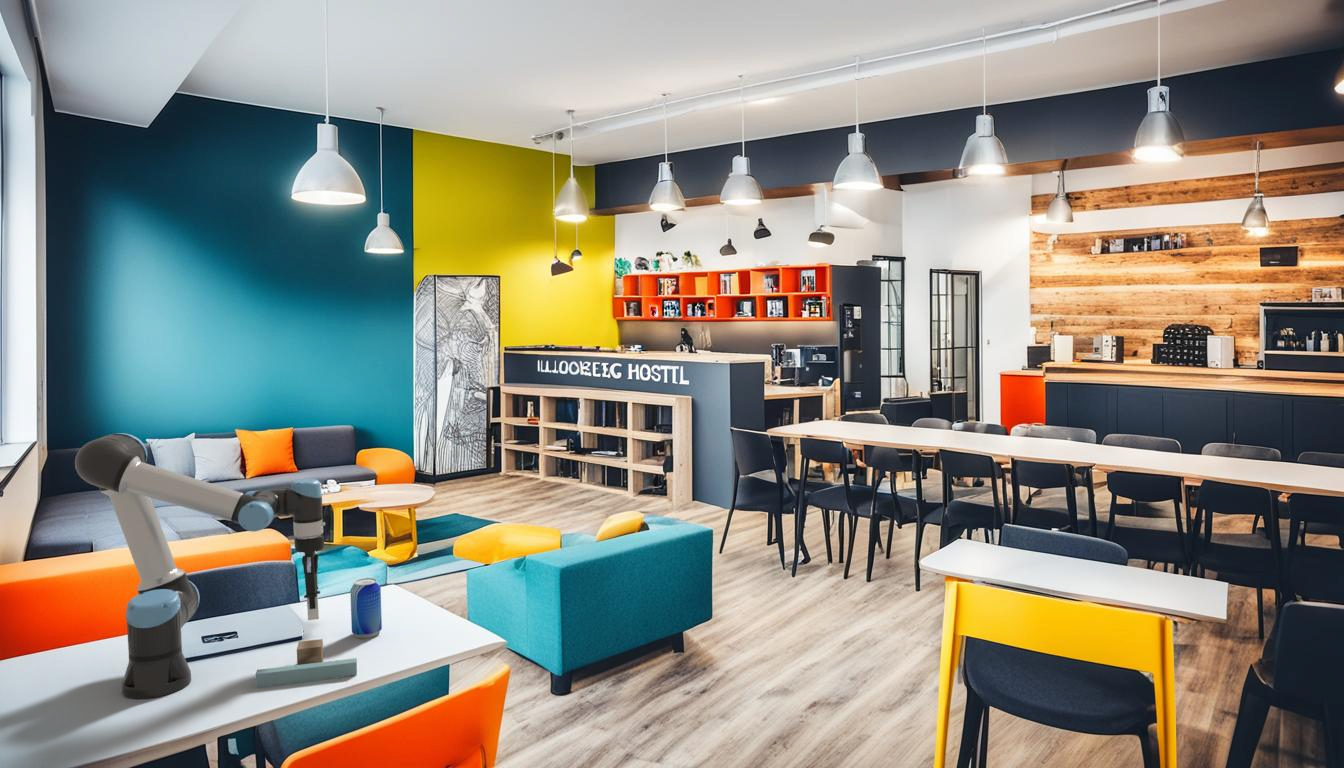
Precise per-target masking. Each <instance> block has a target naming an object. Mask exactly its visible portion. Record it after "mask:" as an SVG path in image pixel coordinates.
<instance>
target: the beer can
mask: <svg viewBox="0 0 1344 768" xmlns="http://www.w3.org/2000/svg"><path fill="white" fill-rule="evenodd" d="M381 592H382V589H381V585H380V584H379V582H378V580H377V578H374V577H363V578H359V579H356V580H354V581H353V584H352V587H351V588H350V615H351V617H350V618H351V622H350V623H351V633H352V634H353V635H354V637H355V638H357V639H370V638H374V637H376V636H378V635H379V634H380V632H381V630H382V629H383V624H382V620H383V619H382V596H381V595H382V594H381Z"/></svg>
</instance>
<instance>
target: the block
mask: <svg viewBox="0 0 1344 768" xmlns="http://www.w3.org/2000/svg"><path fill="white" fill-rule="evenodd" d="M323 642H324V641H323V638H321V639H311V640H301V641H298V642H297V643H298V644H297V646H296V665H302V664H311V663H319V662H324V645H323V644H324V643H323Z"/></svg>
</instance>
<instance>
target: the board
mask: <svg viewBox="0 0 1344 768" xmlns="http://www.w3.org/2000/svg"><path fill="white" fill-rule="evenodd" d="M357 661H358V658H357V657H355V658H353V657H352V658H345V659H338V660H328V661H323V662H319V663H311V664H302V665H297V664H296V665H286V666H279V667H277V666H276V667H269V668H268V667H267V668H261V669H260V668H259V669H256V672H255V688H265V687H273V686H274V687H275V686H280V685H289V684H297V683H305V682H313V681H321V680H322V679H323V680H328V679H327V678H331V679H336V678H335V677H339V678H344V677H343V676H347V677H352V676H351V675H355V676H357V675H358V666H357V665H358V662H357Z"/></svg>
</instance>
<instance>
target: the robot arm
mask: <svg viewBox="0 0 1344 768" xmlns="http://www.w3.org/2000/svg"><path fill="white" fill-rule="evenodd" d="M147 460H148V450H147V447H146V446H145V444H144V442H143V441H142V440H141V439H140V438H138V437H137V436H134V435H132V434H129V433H126V432H125V433H124V432H123V433H117V432H116V433H112V434H111V433H110V434H107V435H105V436H102V437H100V438H96V439H94V440H91V441H89V442H87V443H85V444H84V445H82V447H80V449H79V450H78V451H77V453H76V455H75V460H74V467H75V470H76V472H77V475H78V476H79V477H80V478H81V479H82V480H84V481H85V482H86V483H87V484H89V485H93V486H96V487H97V488H98V490H99V492H100V493H102V494H104V495H106V496H109V499H110V501H111V504H112V507H113V509H114V512H115V515H116V518H117V520H118V523H119V526H120V529H121V531H122V534H123V537H124V539H125V541H126V544H127V547H128V550H129V551H130V552H129V553H130V555H131V557H132V560H133V563H134V565H135V568H136V571H137V573H138V576H139V578H140V582H139V584H138V586H137V588H136V590H137V593H138V594H137V595H135V596H134V597H132V598H131V599H130V600H129V601H128V603H127V605H126V611H125V620H126V631H127V649H128V663H127V667H126V671H125V673H124V677H123V679H122V683H121V689H122V690H121V693H122V695H123V696H124V697H126V698H130V699H151V698H157V697H162V696H166V695H169V694H172V693H176V692H177V691H180V690H182V689H185V687H187V686H188V685H189V684H190V683H191V682H192V673H191V669H190V667H189V665H188V663H187V660H186V658H185V656H184V653H183V649H182V648H183V647H182V646H183V645H182V644H183V643H182V628H183V627H184V626H185V624H187V622H188V621H190V620H191V619H192V617H193V616H194V615H195V613H197V610H198V608H199V604H200V599H201V598H200V592H199V589H198V588H197V586H196V585H195V584H194V583H193V582H192V581H191V580H189V578H188V576H187V573H186V571H185V570H184V569H181V568H178V567H177V565H176V562H175V560H174V557H173V555H172V554H173V553H172V551H171V549H170V546H169V543H168V541H167V538H166V535H165V532H164V530H163V527H162V525H161V522H160V519H159V516H158V513H157V510H156V509H155V505H154V503H153V499H155V500H158V501H162V502H165V503H169V504H172V505H176V506H178V507H182V508H185V509H188V510H192V511H195V512H199V513H202V514H206V515H210V516H213V517H216V518H220V519H223V520H225V521H230V522H233V523H236V524H239V525H240V527H241V528H242V529H244V530H246V531H247V532H259V531H262V530H263V529H265V528H267V527H268V526H270V524H272V522H273V520H274V519H275V518H278V517H292V519H293V522H292V523H293V535H294V537H295V538H294V551H295V552H297V553H303V554H304V555H302V558H301V564H302V565H303V566H302V567H303V574H304V583H305V585H304V586H305V594H304V596H303V598H304V599H306V607H307V621H315V620H319V619H320V616H319V615H320V614H319V613H320V608H319V595H320V594H321V590H319V586H318V584H319V583H318V569H319V563H318V562H319V554H318V553H317V554H316V552H319V551H321V550H322V549H324V547H325V536H324V535H323V534H324V527H325V526H326V522H325V521H323V520H324V518H323V517H324V516H323V494H322V487H321V483H320V481H319V480H318V479H317V478H304V479H296V480H293V481H292V482H291V485H290V487H289V488H281V489H279V488H278V489H276V488H275V489H257V490H251V491H247V492H245V493H243V492H240V491H237V490H235V489H230V488H227V487H224V486H221V485H217V484H213V483H211V482H208V481H204V480H201V479H198V478H195V477H191V476H190V475H189V476H188V475H185V474H181V473H179V472H174V471H172V470H168V469H165V468H162V467H159V466H155V465H152V464H149V463H147Z"/></svg>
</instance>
